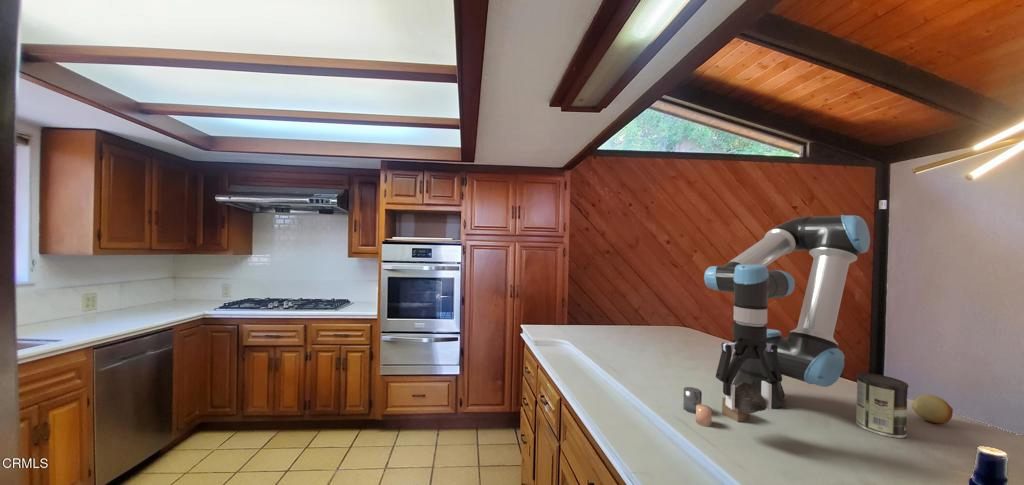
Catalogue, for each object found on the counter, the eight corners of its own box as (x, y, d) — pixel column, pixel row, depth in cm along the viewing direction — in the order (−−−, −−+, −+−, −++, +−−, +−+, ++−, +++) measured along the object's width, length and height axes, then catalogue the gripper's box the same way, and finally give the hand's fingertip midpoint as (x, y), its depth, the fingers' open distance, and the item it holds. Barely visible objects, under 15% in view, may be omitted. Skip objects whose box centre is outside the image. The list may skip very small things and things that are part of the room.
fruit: (920, 414, 113) (921, 388, 113) (959, 427, 105) (960, 400, 105) (904, 416, 111) (905, 390, 111) (943, 430, 103) (944, 402, 103)
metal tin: (695, 405, 115) (695, 386, 115) (705, 413, 110) (705, 393, 110) (680, 406, 114) (680, 387, 114) (689, 414, 109) (689, 394, 109)
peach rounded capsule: (706, 419, 106) (706, 404, 106) (714, 426, 102) (714, 410, 102) (693, 419, 106) (693, 404, 106) (700, 426, 102) (700, 410, 102)
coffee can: (891, 423, 106) (893, 375, 106) (916, 441, 97) (918, 389, 97) (847, 416, 110) (849, 370, 110) (867, 433, 100) (869, 382, 100)
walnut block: (733, 411, 112) (734, 395, 112) (749, 419, 107) (750, 402, 107) (722, 414, 110) (722, 397, 110) (737, 422, 105) (738, 405, 105)
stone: (731, 412, 102) (712, 391, 100) (753, 391, 102) (733, 370, 100) (760, 436, 93) (739, 414, 90) (784, 413, 93) (763, 390, 90)
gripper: (779, 319, 100) (777, 400, 100) (701, 319, 99) (699, 400, 100) (801, 326, 92) (799, 413, 93) (717, 326, 92) (716, 414, 92)
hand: (748, 407), depth 96 cm, fingers closed on stone, 9 cm apart
